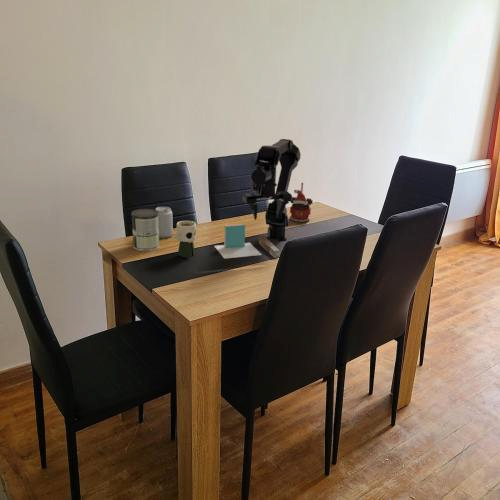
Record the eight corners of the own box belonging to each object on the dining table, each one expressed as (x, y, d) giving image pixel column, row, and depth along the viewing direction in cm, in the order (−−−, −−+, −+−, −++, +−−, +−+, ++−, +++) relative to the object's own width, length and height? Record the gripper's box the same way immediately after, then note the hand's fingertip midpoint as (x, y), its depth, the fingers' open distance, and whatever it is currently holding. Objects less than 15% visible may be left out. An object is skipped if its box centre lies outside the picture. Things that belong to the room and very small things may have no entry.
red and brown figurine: (312, 218, 243) (315, 181, 237) (309, 223, 235) (312, 186, 228) (290, 216, 246) (292, 179, 239) (287, 221, 237) (289, 184, 231)
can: (169, 239, 209) (168, 211, 204) (152, 237, 210) (151, 210, 206) (175, 233, 215) (174, 206, 211) (158, 232, 217) (157, 205, 212)
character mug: (184, 262, 186) (183, 228, 181) (169, 257, 190) (168, 224, 185) (203, 254, 194) (203, 221, 190) (189, 250, 198) (188, 218, 193)
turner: (264, 244, 206) (264, 236, 205) (279, 259, 192) (280, 250, 191) (258, 245, 205) (259, 237, 204) (273, 259, 191) (274, 251, 190)
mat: (249, 244, 206) (249, 242, 206) (261, 256, 194) (261, 254, 194) (214, 247, 201) (214, 245, 201) (224, 260, 189) (224, 258, 189)
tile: (243, 245, 203) (243, 223, 200) (244, 246, 201) (245, 224, 198) (224, 247, 200) (224, 225, 197) (225, 248, 199) (225, 226, 196)
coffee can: (127, 247, 199) (125, 212, 194) (146, 240, 207) (145, 207, 202) (145, 253, 193) (144, 218, 188) (165, 246, 201) (164, 212, 196)
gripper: (282, 174, 202) (280, 211, 208) (238, 176, 197) (237, 214, 202) (293, 180, 193) (291, 219, 198) (247, 182, 187) (246, 222, 192)
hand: (266, 218), depth 198 cm, fingers open, 9 cm apart
